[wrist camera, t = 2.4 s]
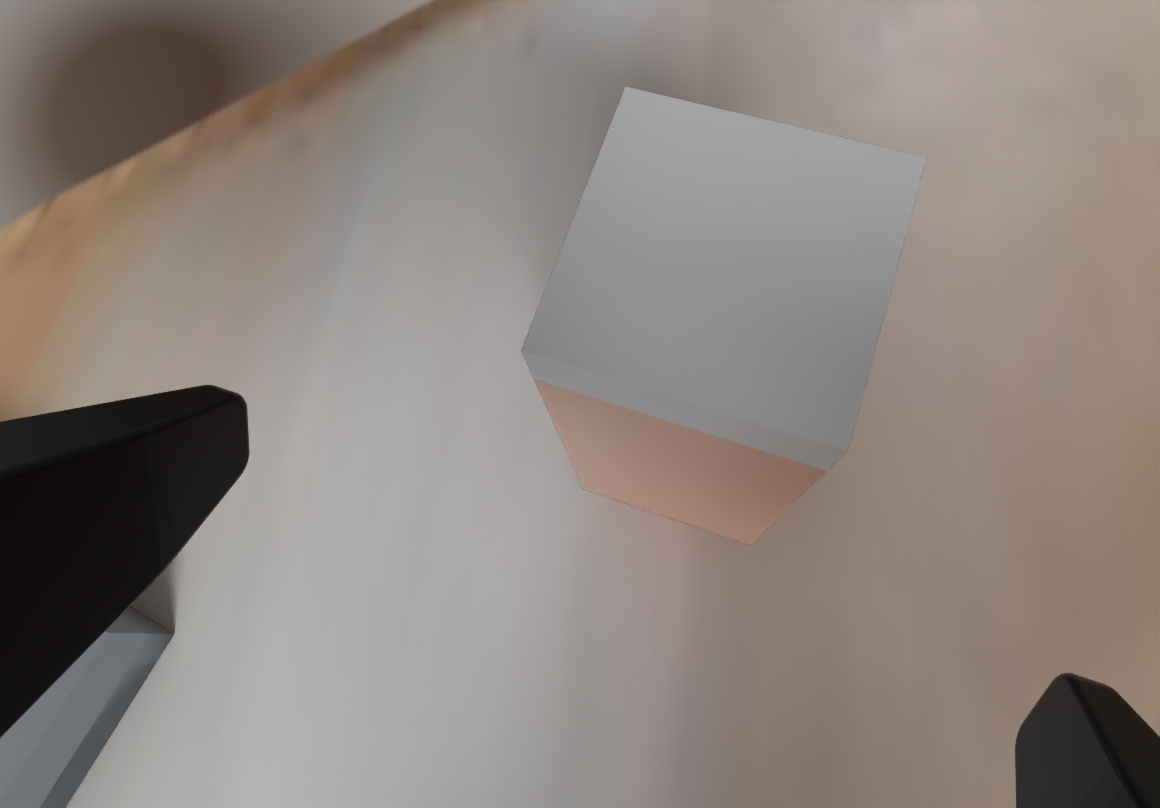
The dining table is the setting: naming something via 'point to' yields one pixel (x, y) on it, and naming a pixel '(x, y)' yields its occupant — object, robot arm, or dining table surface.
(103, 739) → the tray
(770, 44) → the dining table surface
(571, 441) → the grey-topped peach block
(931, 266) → the dining table surface
